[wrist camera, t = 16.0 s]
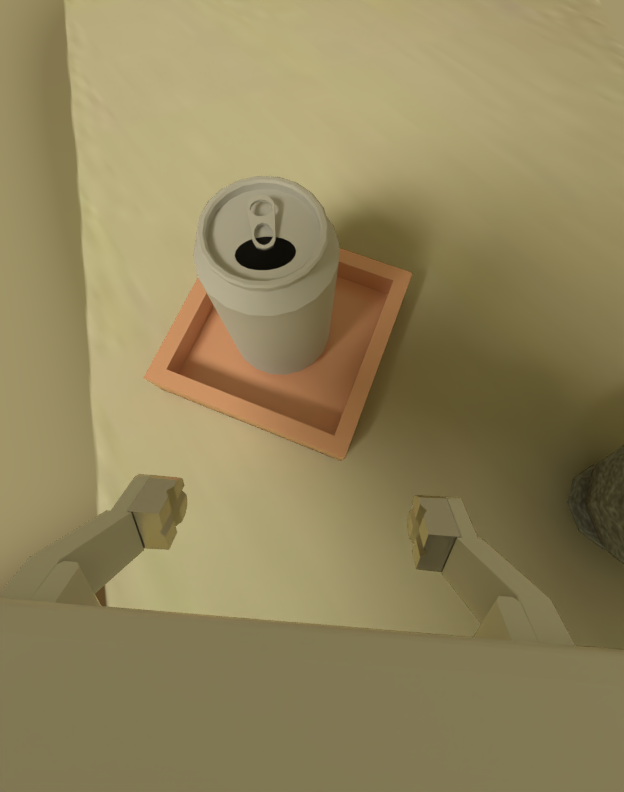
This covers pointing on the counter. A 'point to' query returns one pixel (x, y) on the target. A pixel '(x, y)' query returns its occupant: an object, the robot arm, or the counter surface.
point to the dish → (297, 392)
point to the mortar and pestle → (601, 503)
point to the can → (269, 270)
